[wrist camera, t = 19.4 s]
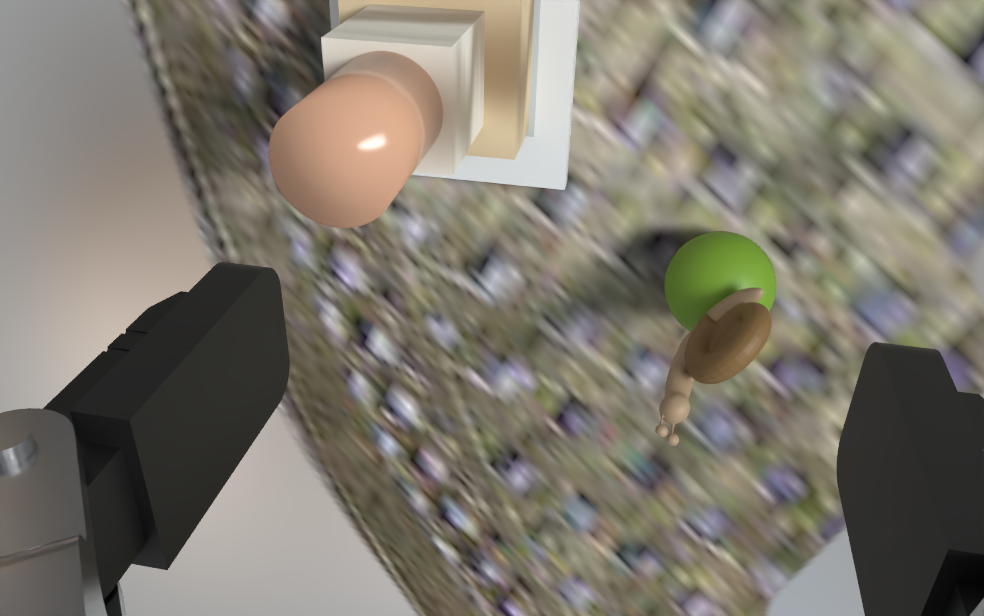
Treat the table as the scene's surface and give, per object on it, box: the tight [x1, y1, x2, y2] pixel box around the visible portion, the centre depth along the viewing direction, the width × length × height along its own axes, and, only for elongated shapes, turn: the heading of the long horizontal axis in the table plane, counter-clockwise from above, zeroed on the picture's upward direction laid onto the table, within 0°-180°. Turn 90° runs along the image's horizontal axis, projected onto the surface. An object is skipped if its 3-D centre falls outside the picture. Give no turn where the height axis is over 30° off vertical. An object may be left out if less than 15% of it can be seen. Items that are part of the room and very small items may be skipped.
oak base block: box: [338, 0, 534, 160], centre depth 40 cm, size 8×8×4 cm
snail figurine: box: [655, 231, 776, 446], centre depth 41 cm, size 5×6×12 cm
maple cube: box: [321, 4, 485, 175], centre depth 35 cm, size 5×5×6 cm
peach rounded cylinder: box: [268, 51, 443, 228], centre depth 30 cm, size 4×4×6 cm
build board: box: [329, 0, 580, 190], centre depth 42 cm, size 14×12×1 cm
